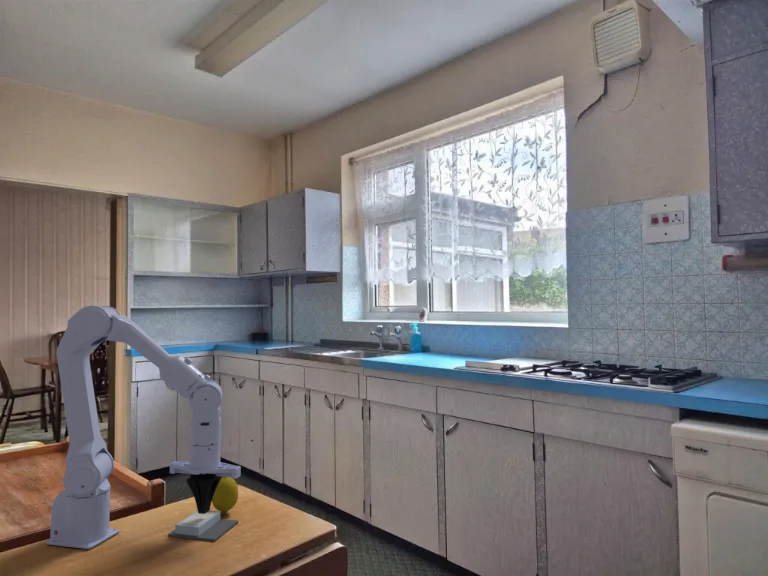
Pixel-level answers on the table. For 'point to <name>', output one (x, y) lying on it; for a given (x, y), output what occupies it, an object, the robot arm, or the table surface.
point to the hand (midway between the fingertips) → (203, 511)
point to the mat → (210, 531)
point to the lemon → (225, 494)
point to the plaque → (197, 523)
